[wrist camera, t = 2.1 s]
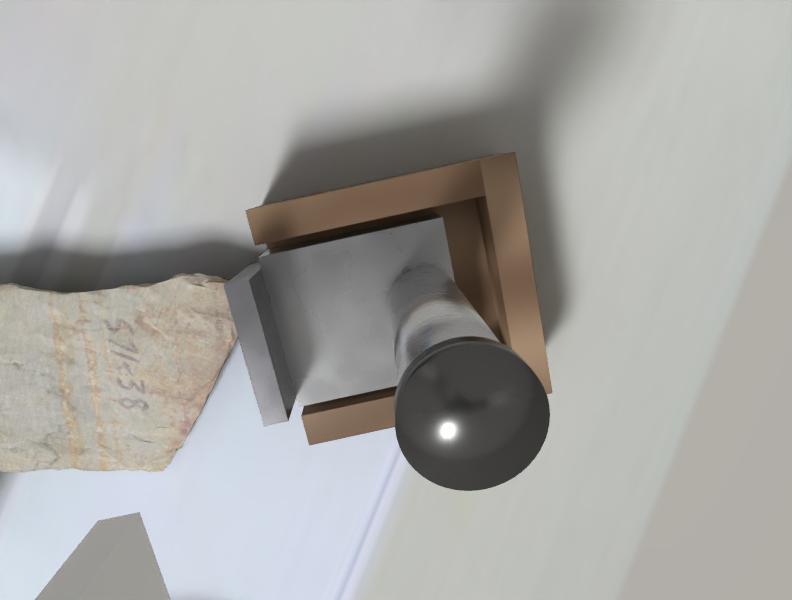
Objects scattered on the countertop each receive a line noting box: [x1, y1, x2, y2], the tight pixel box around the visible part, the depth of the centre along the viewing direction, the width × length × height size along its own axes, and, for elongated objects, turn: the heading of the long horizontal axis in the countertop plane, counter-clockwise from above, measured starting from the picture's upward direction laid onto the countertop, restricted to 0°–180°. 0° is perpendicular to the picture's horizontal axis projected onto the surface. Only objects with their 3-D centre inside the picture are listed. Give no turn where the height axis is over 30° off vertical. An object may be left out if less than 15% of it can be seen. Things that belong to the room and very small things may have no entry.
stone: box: [0, 273, 238, 472], centre depth 27 cm, size 15×11×3 cm
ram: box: [223, 213, 550, 491], centre depth 20 cm, size 7×9×14 cm
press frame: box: [246, 152, 552, 445], centre depth 26 cm, size 11×12×4 cm
